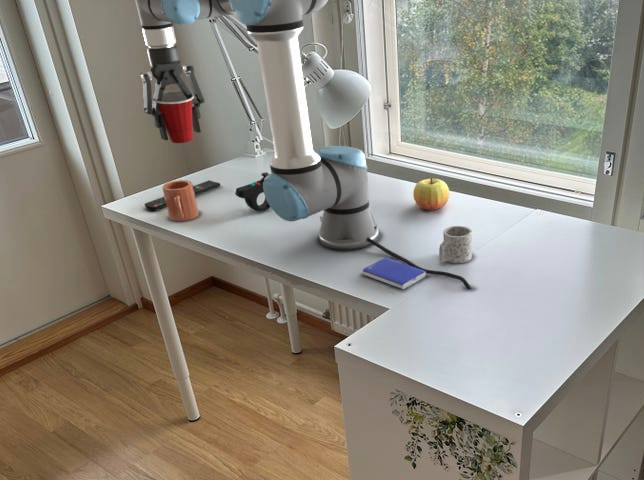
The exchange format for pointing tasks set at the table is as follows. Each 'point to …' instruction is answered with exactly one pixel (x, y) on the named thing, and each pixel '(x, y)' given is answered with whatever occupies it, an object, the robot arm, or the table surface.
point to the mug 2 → (456, 245)
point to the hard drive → (394, 273)
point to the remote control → (197, 190)
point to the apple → (431, 194)
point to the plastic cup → (177, 115)
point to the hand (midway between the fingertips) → (181, 135)
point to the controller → (253, 194)
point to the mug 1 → (180, 200)
